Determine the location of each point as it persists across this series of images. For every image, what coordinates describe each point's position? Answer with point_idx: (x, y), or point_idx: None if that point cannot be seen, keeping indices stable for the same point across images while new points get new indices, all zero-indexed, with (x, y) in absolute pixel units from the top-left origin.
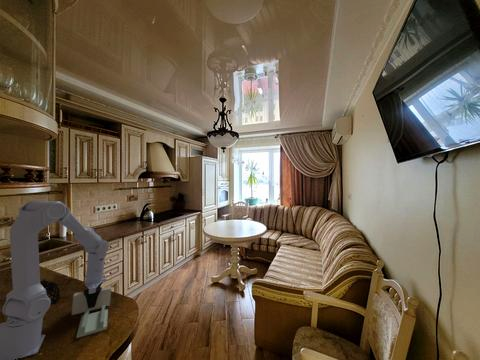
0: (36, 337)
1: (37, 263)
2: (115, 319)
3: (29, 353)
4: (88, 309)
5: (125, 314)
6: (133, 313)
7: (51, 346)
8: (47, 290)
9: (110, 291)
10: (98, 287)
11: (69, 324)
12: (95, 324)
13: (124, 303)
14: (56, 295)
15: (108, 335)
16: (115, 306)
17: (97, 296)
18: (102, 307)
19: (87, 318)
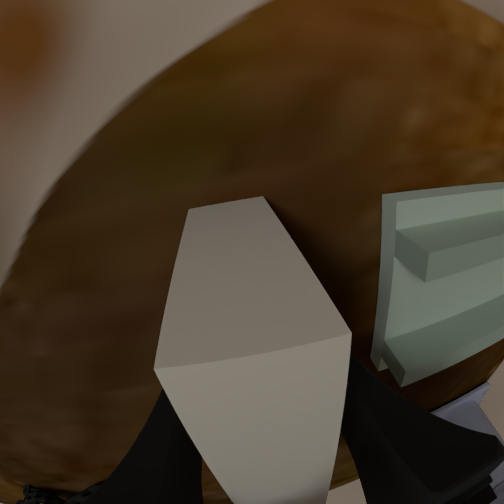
0: (488, 423)
1: None
2: (491, 128)
3: (482, 396)
4: (417, 369)
5: (464, 54)
6: (463, 5)
7: (486, 362)
8: None
9: (320, 298)
10: (171, 495)
11: (390, 385)
12: None
13: (269, 36)
14: (89, 493)
15: None
16: (302, 129)
17: (428, 412)
18: (458, 268)
19: (469, 323)
